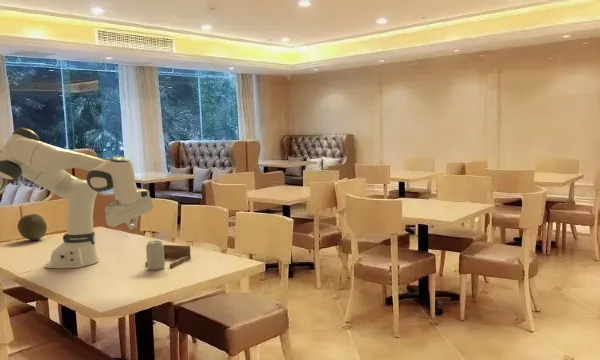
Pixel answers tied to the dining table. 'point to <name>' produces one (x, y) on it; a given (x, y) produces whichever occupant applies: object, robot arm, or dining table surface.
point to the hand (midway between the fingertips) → (133, 228)
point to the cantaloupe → (32, 227)
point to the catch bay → (176, 254)
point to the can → (155, 255)
